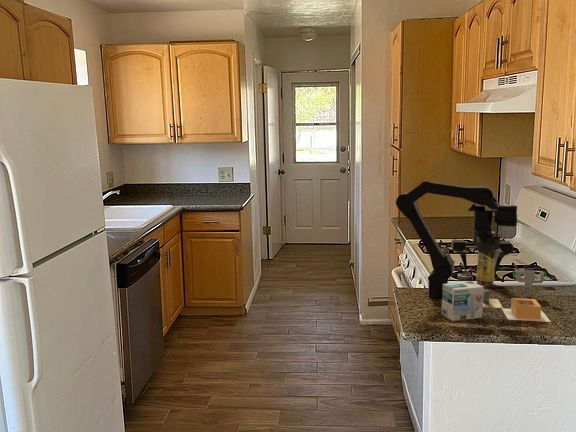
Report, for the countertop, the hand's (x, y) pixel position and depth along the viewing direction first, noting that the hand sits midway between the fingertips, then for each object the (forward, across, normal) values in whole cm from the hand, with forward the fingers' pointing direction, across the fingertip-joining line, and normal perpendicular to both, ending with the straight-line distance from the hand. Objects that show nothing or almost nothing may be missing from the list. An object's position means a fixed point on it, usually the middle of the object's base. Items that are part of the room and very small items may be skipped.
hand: (480, 271), depth 181 cm
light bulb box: (+11, -7, -16) cm, 21 cm away
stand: (+11, +2, -2) cm, 11 cm away
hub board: (+11, +12, -12) cm, 20 cm away
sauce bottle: (+11, +6, +24) cm, 27 cm away
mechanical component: (+11, +17, +7) cm, 22 cm away
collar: (+10, +12, -12) cm, 20 cm away
